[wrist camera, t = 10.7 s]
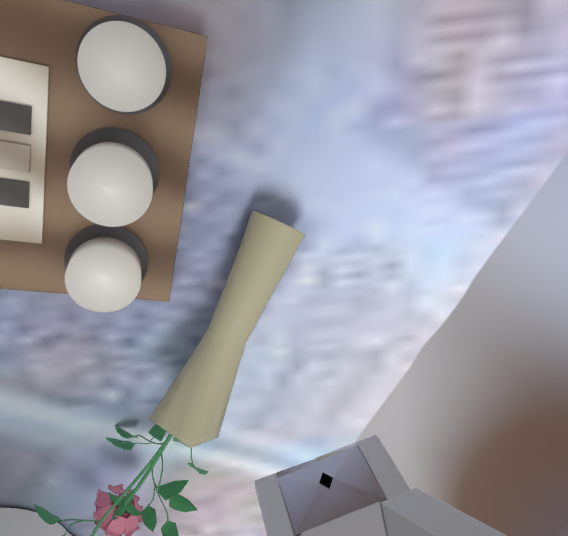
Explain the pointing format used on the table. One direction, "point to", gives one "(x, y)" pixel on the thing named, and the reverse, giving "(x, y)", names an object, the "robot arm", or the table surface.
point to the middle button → (110, 184)
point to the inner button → (103, 275)
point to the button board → (84, 144)
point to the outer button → (121, 66)
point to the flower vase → (203, 377)
